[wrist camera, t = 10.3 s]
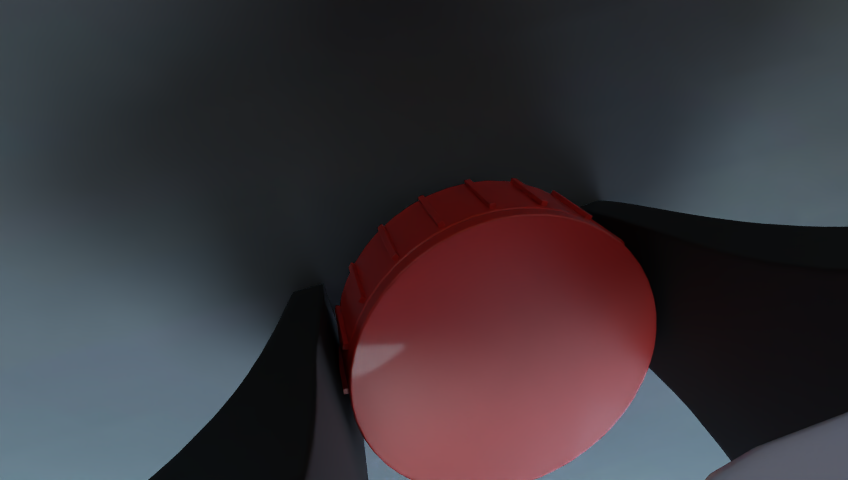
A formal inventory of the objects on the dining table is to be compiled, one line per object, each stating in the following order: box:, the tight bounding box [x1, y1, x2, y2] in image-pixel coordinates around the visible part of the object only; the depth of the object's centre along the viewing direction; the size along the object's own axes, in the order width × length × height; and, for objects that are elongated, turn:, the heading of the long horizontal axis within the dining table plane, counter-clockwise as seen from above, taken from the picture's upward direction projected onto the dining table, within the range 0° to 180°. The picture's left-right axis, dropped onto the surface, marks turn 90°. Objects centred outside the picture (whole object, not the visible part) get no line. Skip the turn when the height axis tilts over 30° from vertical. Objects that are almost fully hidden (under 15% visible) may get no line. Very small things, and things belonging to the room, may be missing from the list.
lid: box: [335, 178, 657, 480], centre depth 10 cm, size 5×5×2 cm
